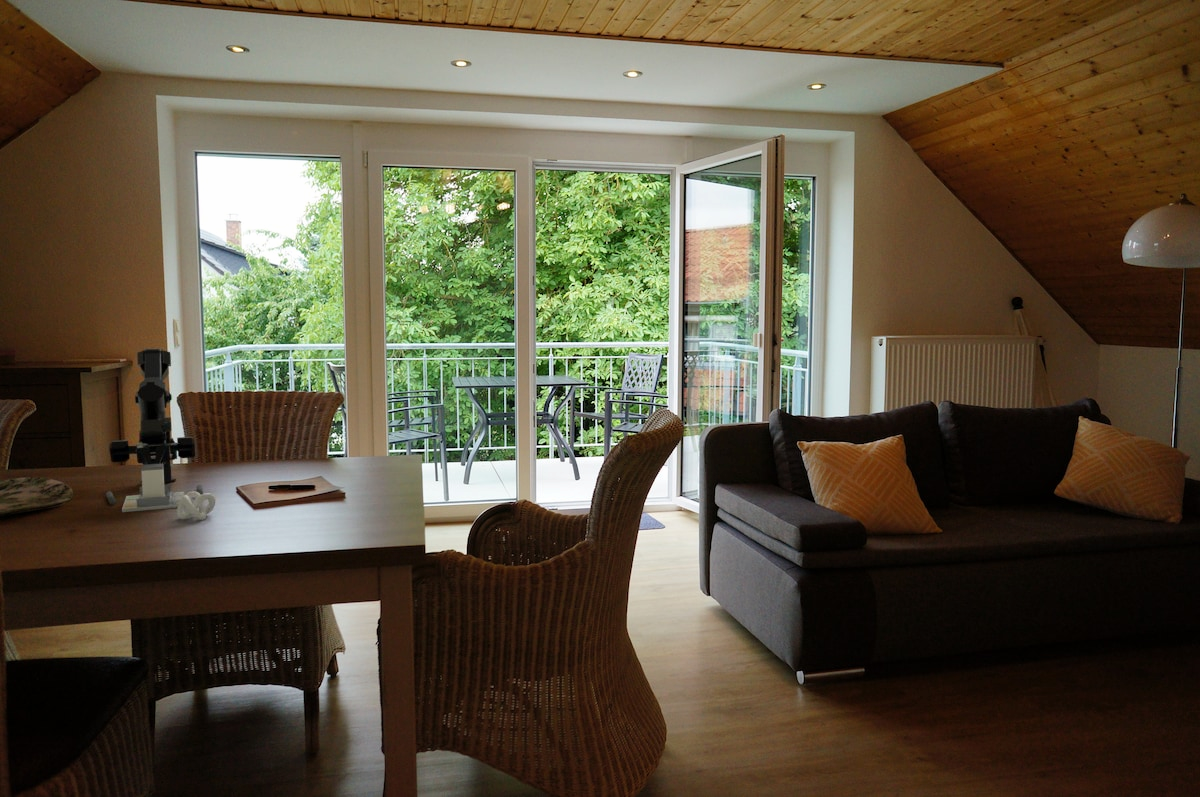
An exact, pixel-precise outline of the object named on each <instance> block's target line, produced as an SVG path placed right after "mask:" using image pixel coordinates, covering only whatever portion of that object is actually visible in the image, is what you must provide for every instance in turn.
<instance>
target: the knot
mask: <svg viewBox="0 0 1200 797" xmlns="http://www.w3.org/2000/svg"><path fill="white" fill-rule="evenodd" d="M192 498H193V499H195V500H194V501H193V500H192ZM206 500H208V502H207V506H206V503H205V501H206ZM215 506H216V498H215V495H213V493H210V492H205V493H204V492H203V494H202V495H201V494H200V493H198V492H197V491H196V490H195V491H189V492H187V493H186V494H184V496H182V499H181V501H180V503H179V505H178V508H177V511H176V513H177V516H178V518H179V519H180V520H183V521H184V520H185V521H186V520H188V519H189V518H191V517H192V516H193V518H195V519H196V520H199V521H204V520H205V519H206V518H207V515H209V513H211V512H212V511H213V510H214V508H215ZM185 508H186V512H185Z"/></svg>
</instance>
